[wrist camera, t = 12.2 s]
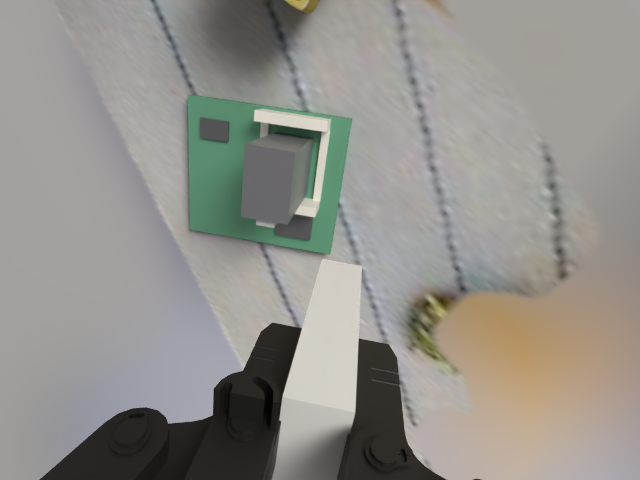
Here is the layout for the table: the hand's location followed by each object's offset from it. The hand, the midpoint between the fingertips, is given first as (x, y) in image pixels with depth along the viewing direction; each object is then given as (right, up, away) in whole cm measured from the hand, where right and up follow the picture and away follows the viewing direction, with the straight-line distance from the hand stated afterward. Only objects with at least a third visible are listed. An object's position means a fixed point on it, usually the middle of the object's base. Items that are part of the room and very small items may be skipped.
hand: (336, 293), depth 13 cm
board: (-7, +9, +26) cm, 28 cm away
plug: (-4, +10, +24) cm, 26 cm away
